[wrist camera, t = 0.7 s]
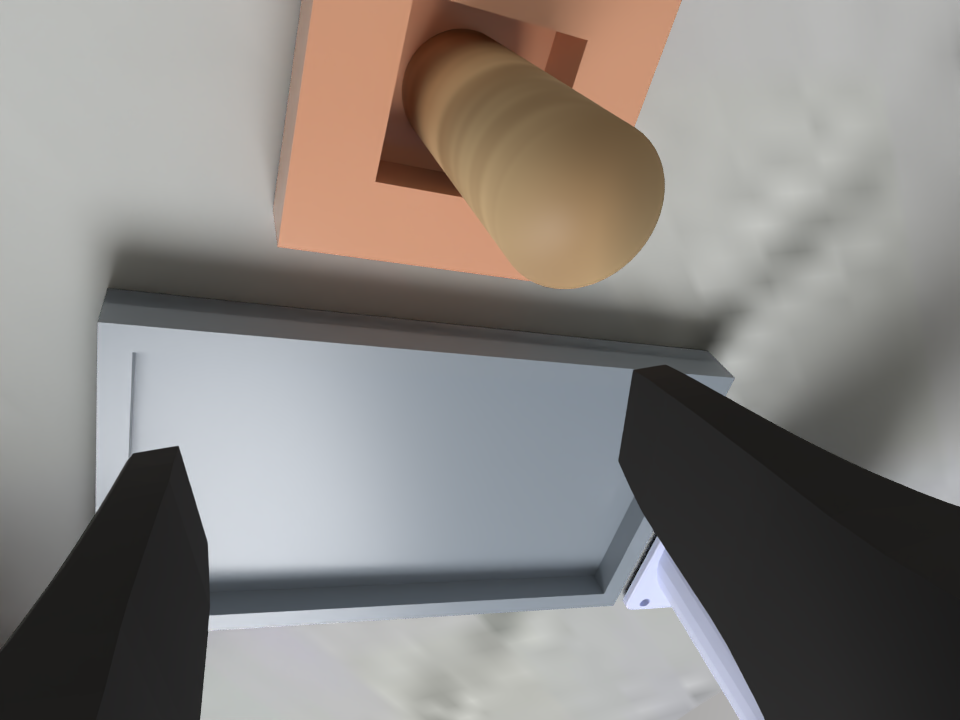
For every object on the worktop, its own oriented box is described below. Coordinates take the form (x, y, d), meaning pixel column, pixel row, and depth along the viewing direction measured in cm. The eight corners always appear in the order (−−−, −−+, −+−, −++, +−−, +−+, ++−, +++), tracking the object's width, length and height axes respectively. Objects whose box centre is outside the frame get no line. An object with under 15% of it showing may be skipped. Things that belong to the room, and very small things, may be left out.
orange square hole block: (644, -40, 18) (692, -30, 16) (544, 251, 22) (574, 286, 20) (322, -154, 15) (335, -157, 13) (272, 209, 19) (277, 247, 17)
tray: (707, 350, 26) (735, 378, 25) (596, 573, 32) (613, 605, 31) (107, 288, 19) (97, 322, 17) (101, 593, 25) (93, 638, 23)
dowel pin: (529, 45, 18) (692, 137, 12) (496, 160, 19) (625, 297, 13) (416, 14, 17) (529, 97, 11) (390, 138, 18) (475, 278, 12)
